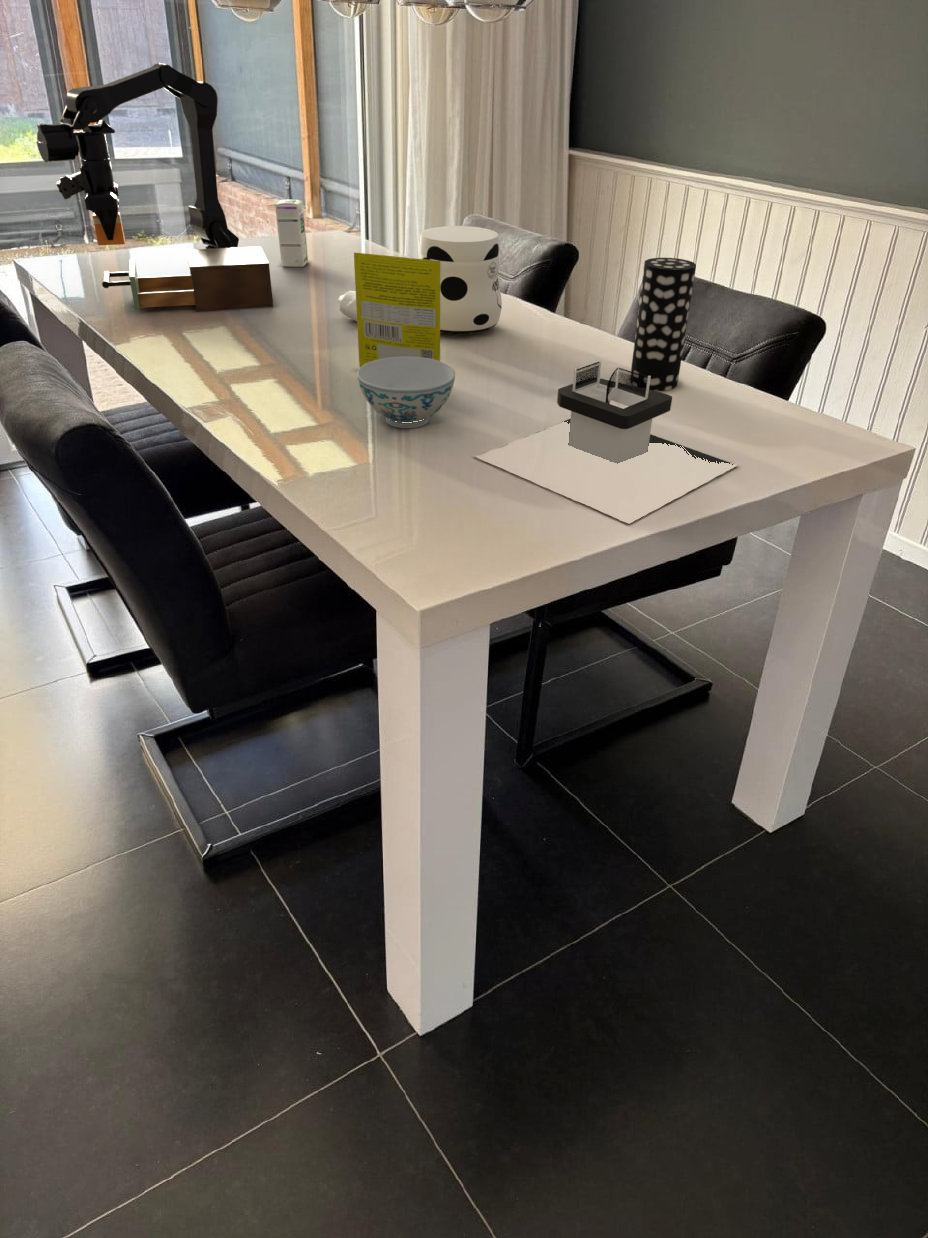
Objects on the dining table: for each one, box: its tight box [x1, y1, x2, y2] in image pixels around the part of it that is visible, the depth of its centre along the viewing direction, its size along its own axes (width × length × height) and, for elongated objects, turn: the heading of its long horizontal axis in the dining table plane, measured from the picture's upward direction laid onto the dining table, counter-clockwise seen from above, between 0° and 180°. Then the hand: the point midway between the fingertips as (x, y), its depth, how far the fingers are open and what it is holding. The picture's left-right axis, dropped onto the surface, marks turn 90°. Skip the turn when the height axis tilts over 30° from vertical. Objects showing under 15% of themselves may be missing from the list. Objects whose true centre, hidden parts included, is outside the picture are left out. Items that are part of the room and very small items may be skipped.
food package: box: [353, 252, 441, 369], centre depth 152 cm, size 15×1×20 cm, turn 71°
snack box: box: [92, 211, 126, 246], centre depth 194 cm, size 6×3×6 cm, turn 107°
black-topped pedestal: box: [556, 360, 734, 465], centre depth 125 cm, size 28×26×13 cm
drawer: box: [101, 258, 196, 311], centre depth 191 cm, size 22×16×6 cm
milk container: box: [418, 225, 503, 336], centre depth 177 cm, size 17×17×18 cm
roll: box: [337, 290, 357, 323], centre depth 184 cm, size 6×12×6 cm, turn 35°
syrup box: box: [274, 198, 309, 268], centre depth 220 cm, size 6×6×14 cm
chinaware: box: [356, 357, 456, 429], centre depth 139 cm, size 15×15×8 cm
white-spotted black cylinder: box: [630, 257, 697, 392], centre depth 152 cm, size 8×8×20 cm
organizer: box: [186, 246, 274, 312], centre depth 194 cm, size 16×16×9 cm
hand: (110, 238), depth 195 cm, fingers closed on snack box, 3 cm apart
